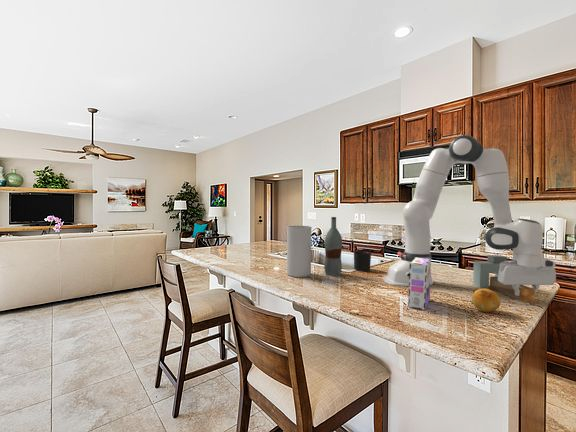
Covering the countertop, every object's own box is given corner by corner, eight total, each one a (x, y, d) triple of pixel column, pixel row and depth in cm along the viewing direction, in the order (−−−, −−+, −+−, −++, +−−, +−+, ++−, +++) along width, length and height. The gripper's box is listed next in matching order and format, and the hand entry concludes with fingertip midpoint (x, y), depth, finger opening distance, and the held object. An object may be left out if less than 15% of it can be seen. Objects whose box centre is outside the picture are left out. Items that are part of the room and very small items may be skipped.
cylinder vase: (288, 271, 162) (288, 225, 161) (311, 272, 161) (312, 225, 159) (285, 277, 150) (285, 227, 149) (310, 278, 148) (310, 227, 147)
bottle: (322, 272, 161) (323, 216, 160) (338, 271, 162) (339, 216, 161) (326, 276, 152) (327, 217, 151) (343, 276, 153) (345, 217, 152)
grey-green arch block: (479, 287, 134) (481, 256, 133) (472, 284, 139) (474, 254, 138) (511, 288, 134) (512, 257, 133) (503, 285, 139) (504, 255, 138)
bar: (524, 302, 115) (525, 289, 115) (489, 287, 135) (490, 276, 135) (535, 302, 115) (535, 289, 115) (498, 287, 135) (499, 276, 135)
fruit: (489, 317, 100) (490, 293, 99) (466, 308, 107) (467, 286, 107) (504, 313, 103) (505, 290, 103) (481, 305, 110) (482, 284, 110)
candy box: (425, 310, 105) (426, 264, 104) (407, 307, 108) (408, 262, 107) (430, 300, 116) (431, 258, 116) (414, 297, 120) (415, 256, 119)
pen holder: (369, 268, 172) (369, 250, 172) (372, 271, 163) (372, 253, 162) (352, 267, 173) (352, 250, 173) (354, 271, 164) (354, 253, 163)
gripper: (505, 262, 113) (504, 297, 114) (560, 262, 113) (558, 298, 114) (494, 258, 120) (493, 292, 120) (545, 259, 120) (544, 293, 120)
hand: (525, 295), depth 117 cm, fingers closed on bar, 4 cm apart
